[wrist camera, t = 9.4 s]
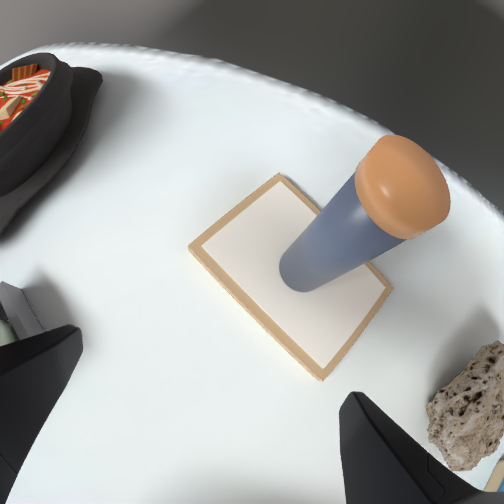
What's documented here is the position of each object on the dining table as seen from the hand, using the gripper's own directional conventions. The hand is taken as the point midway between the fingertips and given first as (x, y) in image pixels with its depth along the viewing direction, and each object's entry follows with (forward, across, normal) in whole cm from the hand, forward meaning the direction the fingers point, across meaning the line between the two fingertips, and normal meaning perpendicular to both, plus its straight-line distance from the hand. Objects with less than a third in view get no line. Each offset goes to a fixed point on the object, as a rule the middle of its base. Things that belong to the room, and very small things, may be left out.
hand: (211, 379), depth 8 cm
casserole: (+17, +26, -4) cm, 31 cm away
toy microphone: (+13, -5, 0) cm, 14 cm away
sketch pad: (+14, -5, +1) cm, 15 cm away
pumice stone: (+9, -26, +10) cm, 29 cm away
